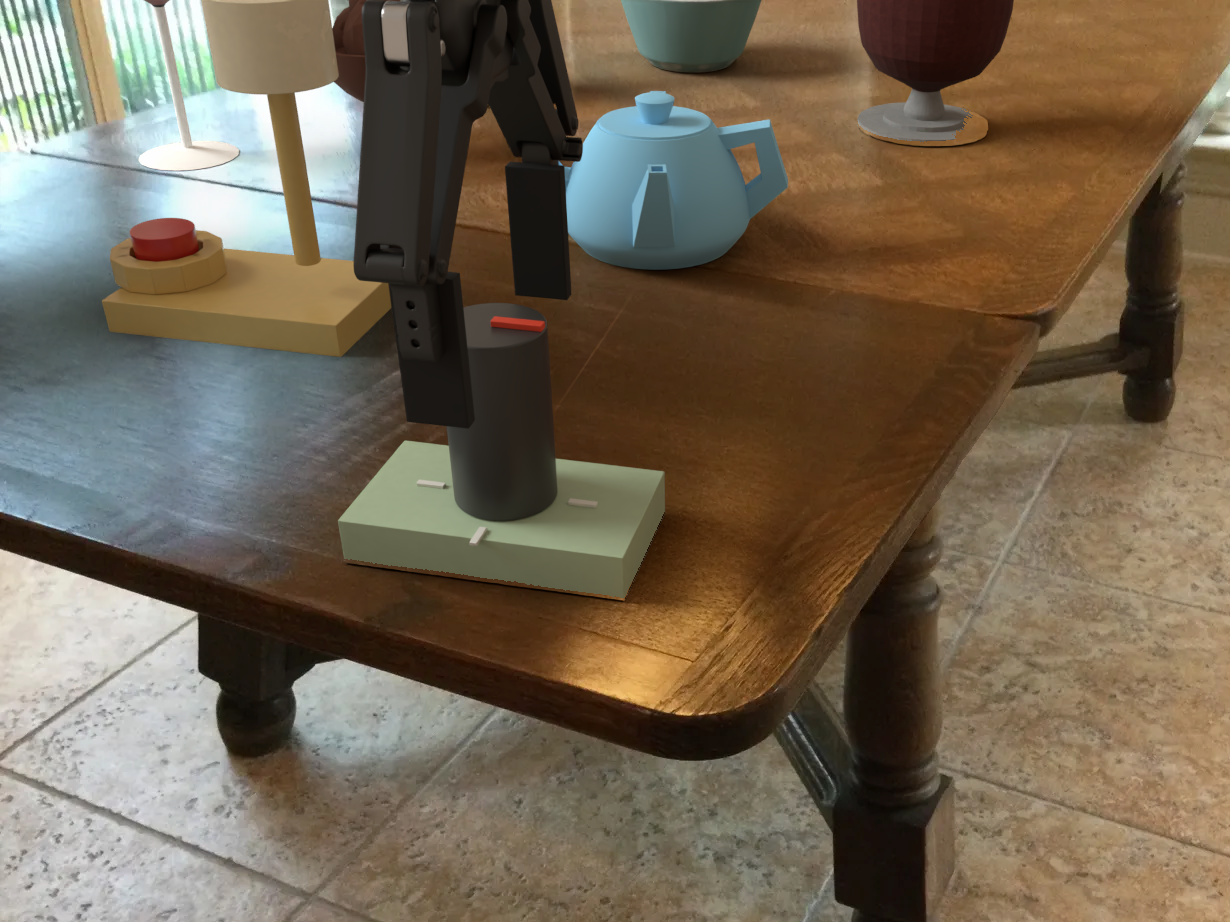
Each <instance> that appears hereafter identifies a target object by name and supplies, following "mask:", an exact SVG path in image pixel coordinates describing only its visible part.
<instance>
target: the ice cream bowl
mask: <svg viewBox="0 0 1230 922" xmlns="http://www.w3.org/2000/svg"><path fill="white" fill-rule="evenodd" d="M365 1H366V0H348V6H347V7H345V8H343V9H342V10H341V12H340V13H339V14H338V15H337V16H336V18H335V20H334V23H333V24H332V30H333V37H334V45H335V52H336V59H337V66H338V73H339V76H338V78H337V80H335V81H334V82H333V83H334V84H335V85H337V86H338V87H339V88H340V89H341V90H342V91H343V92H344V93H346V94H347V95H349V96H351V97H353V98H354V99H356V100H358V101H360V102H362V103H364V91H365V75H366V64H365V52H364V40H363V28H362V8H363V4H364V2H365ZM386 1H400V0H386Z"/></svg>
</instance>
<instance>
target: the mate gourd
mask: <svg viewBox="0 0 1230 922" xmlns="http://www.w3.org/2000/svg"><path fill="white" fill-rule="evenodd" d="M1014 1H1015V0H856V9H857V10H856V11H857V25H858V31H859V38H860V44H861V46H862V48H863V49H864V51H865V53H866V54H867V56H868V58H869V60H870V61H871V63H872V64H873V66H874V67H875V69H876V70H877V71H878V72H880V73H882V74H884V75H886V76H888V77H890V78H892V79H894V80H896V81H898V82H900V83H902V84H904V85H905V86H907V87H909V88H910V89H911V91H910V94H909V95H908V98H907V100H906V101H905V102H904V101H903V102H889V103H883V104H878V105H874V106H871V107H867V108H866V109H864V110H862V111H861V112H860V113H858V116H857V121H858V124H859V126H861V127H862V128H863V129H864V130H867V131H868V132H871V133H873V134H876V135H879V136H883V137H888V138H893V139H897V140H905V141H906V140H907V141H920V142H924V141H926V142H927V141H946V140H954V139H956V138H955V136H956V130H957V131H959V132H961V131H960V129H961V130H964V129H963V128H964V126H965V125H964V124H963V122H964V123H966V122H965V121H964V118H967V117H966V116H968V117H970V118H972V117H971V116H973V115H971V114H970V113H969V111H968V112H965V111H967V110H966V109H967V108H963V107H959V106H955V105H950V104H944V101H943V98H942V94H941V91H942V90H943V89H946V88H948V87H951V86H954V85H956V84H960V83H962V82H965V81H969V80H971V79H975V78H977V77H978V76H980V75H981V74H982V73H983V71H985V70H986V68H987V67H988V66H989V65H990V64H991V62H992V61H993V60H994V59H995V58H996V57H997V55H998V54H999V53H1000V52H1001V50H1002V47H1003V44H1004V42H1005V39H1006V36H1007V33H1008V30H1009V25H1010V22H1011V18H1012V15H1013V11H1014ZM962 109H963V110H962ZM964 110H965V111H964ZM968 114H969V115H971V116H969V115H968ZM967 119H968V118H967ZM966 124H967V123H966ZM962 127H963V128H962ZM952 134H953V135H952ZM954 135H955V136H954Z"/></svg>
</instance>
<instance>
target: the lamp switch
mask: <svg viewBox="0 0 1230 922" xmlns="http://www.w3.org/2000/svg"><path fill="white" fill-rule="evenodd" d="M196 230H197V229H196V226H195V223H194V222H193V221H191V220H189V219H186V218H182V217H181V218H180V217H161V218H154V219H149V220H145V221H142V222H140V223H137V224H135V225H133V226H132V227H131V228H130V229H129V238H131V242H132V246H133V250H134V254H135V258H136V259H138V260H142V261H152V262H160V261H170V260H177V259H180V258H184V257H187V256H190V255H194V254H195V253H197V252H198V251H200V249H199V244H198V239H197V234H196Z"/></svg>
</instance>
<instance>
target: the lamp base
mask: <svg viewBox="0 0 1230 922" xmlns="http://www.w3.org/2000/svg"><path fill="white" fill-rule="evenodd" d="M195 230H196V234H197V239H198V244H199V249H200V251H198V252H197V253H195V254H194V255H190V256H187V257H184V258H180V259H177V260H170V261H160V262H152V261H142V260H138V259H136V258H135V254H134V250H133V246H132V242H131V237H128V238H126V239H124V240H123V241H121V242H120V243H117V244H116V245H115V246H113V247H112V248H110V254H109V262H110V266H111V270H112V274H113V279H114V282H115V285H116V286H119V288H118V289H117V290H115V291H114V292H112V293H111V294H109V295H108V296H106V297H105V298H103V299H102V300H101V303H102V307H103V311H104V316H105V318H106V323H107V326H108V331H109V332H110V333H117V334H127V335H136V336H145V337H152V338H153V337H154V338H162V339H171V340H172V339H173V340H179V341H180V340H181V341H190V342H199V343H207V344H208V343H209V344H218V345H226V346H236V347H244V348H245V347H246V348H253V349H255V348H256V349H263V350H271V351H281V352H289V353H300V354H307V355H317V356H327V357H336V358H341V357H343V356H344V355H345V354H346V353H347V352H348V351H349V350H350V349H351V348H352V347H353V346H354V345H355V344H356V343H357V342H358V341H359V340H360V339H361V338H362V337H363V336H365V335H366V333H368V332H369V330H371V328H372V327H374V326H375V325H376V324H377V322H379V321H380V320H381V319H382V318H383V317H384V316H385V315H386V314H387V313H388V312H389V311H390V310H392V307H391V300H390V292H389V285H388V283H380V282H370V281H360V280H358V279H357V278H356V276H355V273H354V260H348V259H337V258H327V257H321V261H320V262H319V263H318V264H315V265H311V266H301V265H298V264H296V262H295V258H294V254H286V253H277V252H276V253H275V252H267V251H266V252H265V251H254V250H244V249H234V248H224V244H223V243H224V242H223V239H222V237H220V236H218V235H216V234H214V233H211V232H209V231H206V230H198V229H195Z"/></svg>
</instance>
